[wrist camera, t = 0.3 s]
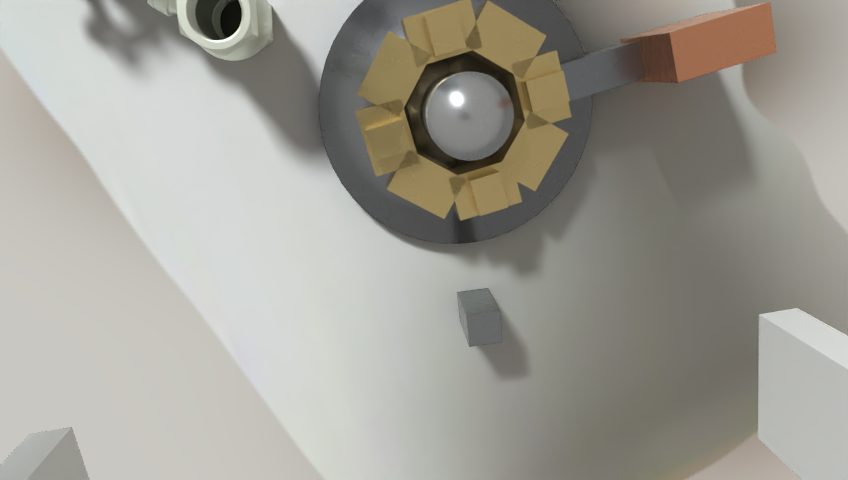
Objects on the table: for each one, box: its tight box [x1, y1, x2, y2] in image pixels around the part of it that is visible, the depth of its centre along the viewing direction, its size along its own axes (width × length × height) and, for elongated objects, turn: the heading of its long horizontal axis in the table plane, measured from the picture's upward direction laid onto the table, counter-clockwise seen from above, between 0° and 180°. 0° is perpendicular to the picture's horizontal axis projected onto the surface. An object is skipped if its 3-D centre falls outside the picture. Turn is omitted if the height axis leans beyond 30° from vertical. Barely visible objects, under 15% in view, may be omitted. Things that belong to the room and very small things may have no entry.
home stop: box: [457, 288, 502, 347], centre depth 38 cm, size 2×2×4 cm
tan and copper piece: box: [355, 0, 776, 221], centre depth 32 cm, size 21×11×6 cm, turn 107°
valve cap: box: [319, 0, 592, 244], centre depth 34 cm, size 16×16×6 cm
